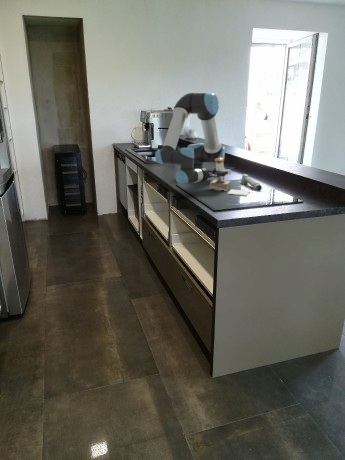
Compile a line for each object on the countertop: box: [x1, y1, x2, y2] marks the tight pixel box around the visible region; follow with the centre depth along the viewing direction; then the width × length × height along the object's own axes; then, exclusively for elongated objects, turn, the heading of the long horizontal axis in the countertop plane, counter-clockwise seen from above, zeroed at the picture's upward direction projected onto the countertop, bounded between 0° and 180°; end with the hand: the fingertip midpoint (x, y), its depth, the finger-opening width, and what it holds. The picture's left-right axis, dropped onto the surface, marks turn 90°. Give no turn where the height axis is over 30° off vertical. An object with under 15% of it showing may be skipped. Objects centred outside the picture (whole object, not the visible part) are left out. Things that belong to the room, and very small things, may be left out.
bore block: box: [209, 179, 232, 192], centre depth 213 cm, size 11×11×4 cm
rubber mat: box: [227, 188, 251, 197], centre depth 203 cm, size 11×11×1 cm
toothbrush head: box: [240, 173, 263, 192], centre depth 221 cm, size 5×7×25 cm
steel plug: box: [215, 157, 225, 183], centre depth 210 cm, size 5×5×18 cm
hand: (227, 171), depth 214 cm, fingers closed on steel plug, 4 cm apart
